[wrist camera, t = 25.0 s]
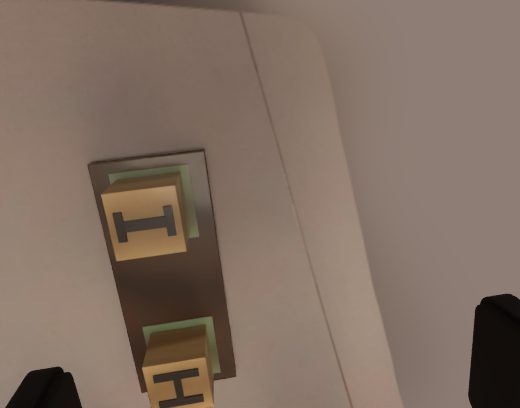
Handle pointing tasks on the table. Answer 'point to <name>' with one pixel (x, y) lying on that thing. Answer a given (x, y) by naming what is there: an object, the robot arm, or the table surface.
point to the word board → (171, 264)
